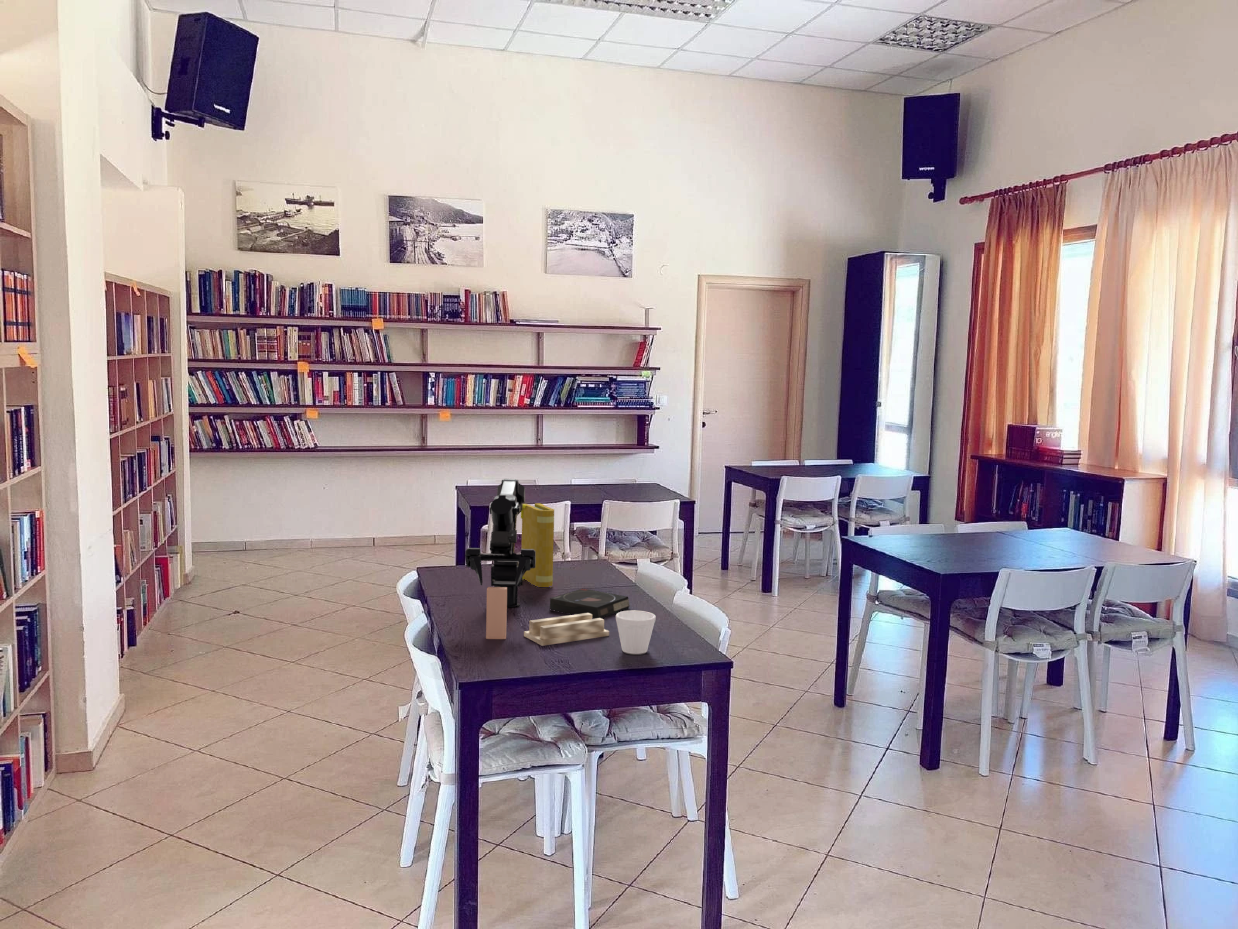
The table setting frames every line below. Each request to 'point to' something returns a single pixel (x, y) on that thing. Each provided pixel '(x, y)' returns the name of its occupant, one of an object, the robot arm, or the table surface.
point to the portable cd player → (589, 603)
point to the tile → (496, 613)
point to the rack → (565, 629)
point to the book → (539, 542)
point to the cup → (635, 630)
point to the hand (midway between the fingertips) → (498, 584)
